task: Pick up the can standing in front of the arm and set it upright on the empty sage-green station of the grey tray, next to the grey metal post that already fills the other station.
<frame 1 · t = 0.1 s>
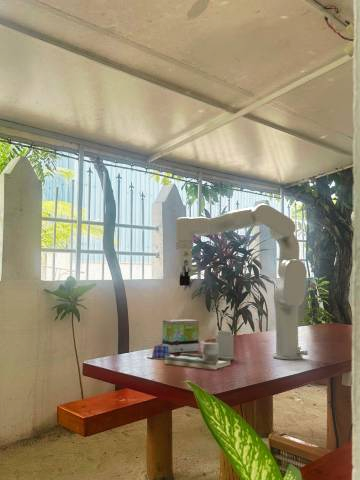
hand: (184, 285, 192), 31 cm above the table, tool pointing down, fingers open, 9 cm apart
blue plaid cloth: (161, 358, 194), on the table
can: (224, 360, 188), on the table
grey tray: (197, 364, 177), on the table
tea box: (180, 351, 214), on the table
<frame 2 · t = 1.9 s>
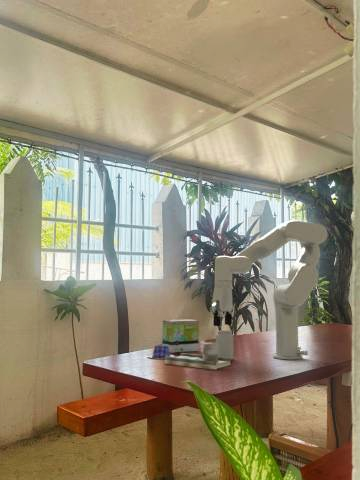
hand: (222, 325, 189), 14 cm above the table, tool pointing down, fingers open, 9 cm apart
nothing on the table moved.
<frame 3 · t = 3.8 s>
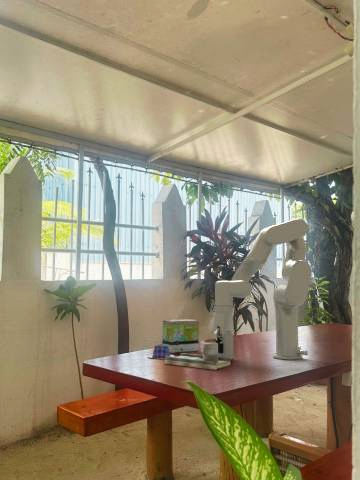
hand: (224, 351, 188), 3 cm above the table, tool pointing down, fingers closed on can, 7 cm apart
can: (224, 360, 188), on the table, touching gripper
everything else where it was.
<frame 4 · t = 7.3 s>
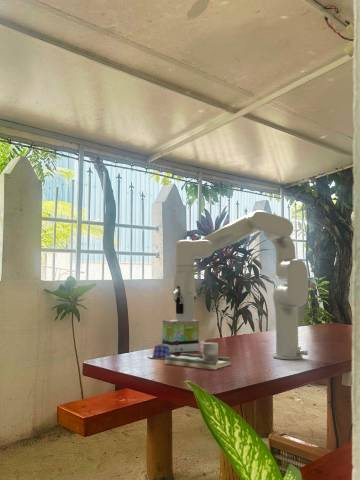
hand: (185, 313, 182), 20 cm above the table, tool pointing down, fingers closed on can, 7 cm apart
can: (185, 321, 182), point 16 cm above the table, touching gripper
everything else where it was.
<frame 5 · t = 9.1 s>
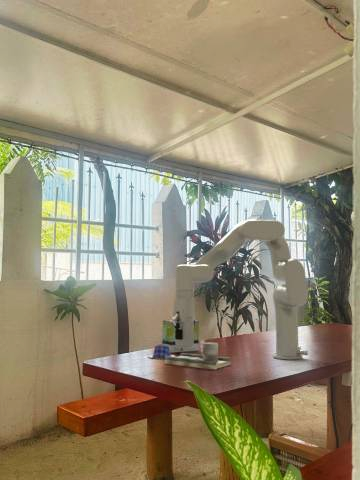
hand: (184, 338, 181), 10 cm above the table, tool pointing down, fingers closed on can, 7 cm apart
can: (184, 346, 181), point 6 cm above the table, touching gripper
everything else where it was.
when the fingers open (7 cm above the table, at t = 10.8 s): can drops 1 cm, resting on grey tray.
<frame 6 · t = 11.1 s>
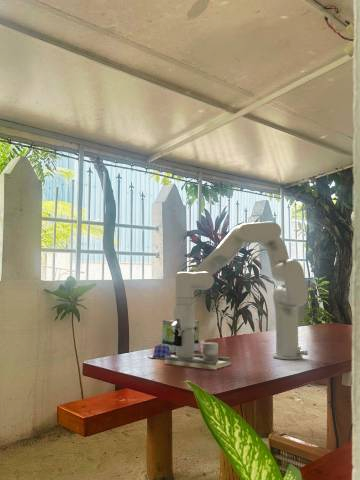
hand: (184, 344, 181), 7 cm above the table, tool pointing down, fingers open, 9 cm apart
can: (185, 358, 180), point 2 cm above the table, touching grey tray
everything else where it was.
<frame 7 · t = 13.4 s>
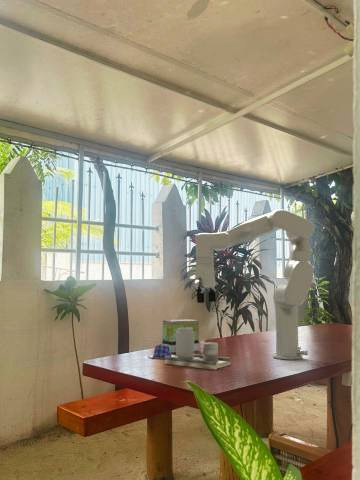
hand: (206, 302, 190), 24 cm above the table, tool pointing down, fingers open, 9 cm apart
nothing on the table moved.
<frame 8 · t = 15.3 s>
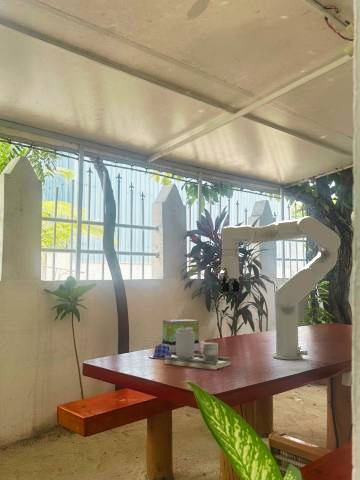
hand: (230, 291, 200), 28 cm above the table, tool pointing down, fingers open, 9 cm apart
nothing on the table moved.
at the end: can 0.2 cm from the target spot on the grey tray, point 1.6 cm above the grey tray's base; can tilted 0°; the gripper is holding nothing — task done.
